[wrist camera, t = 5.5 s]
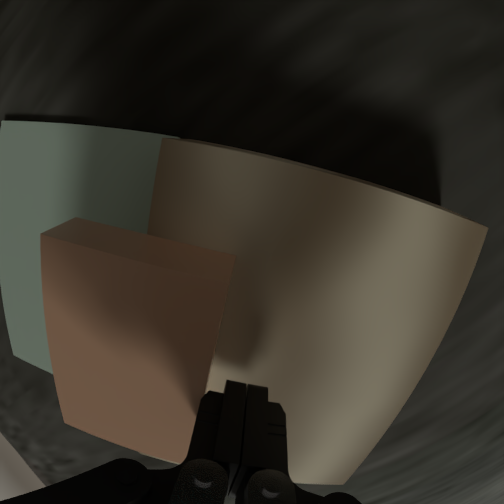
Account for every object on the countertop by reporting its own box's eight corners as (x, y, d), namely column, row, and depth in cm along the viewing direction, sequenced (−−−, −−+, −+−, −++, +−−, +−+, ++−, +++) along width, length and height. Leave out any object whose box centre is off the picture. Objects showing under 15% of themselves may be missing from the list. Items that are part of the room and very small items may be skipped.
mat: (180, 137, 13) (178, 137, 13) (149, 404, 18) (147, 408, 18) (6, 120, 13) (1, 120, 13) (16, 352, 18) (13, 354, 18)
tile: (236, 255, 11) (228, 283, 8) (198, 430, 13) (189, 465, 11) (75, 217, 10) (40, 233, 8) (83, 393, 13) (64, 422, 11)
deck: (441, 206, 13) (488, 227, 10) (335, 438, 19) (343, 484, 15) (191, 139, 13) (162, 137, 9) (156, 406, 18) (139, 453, 15)
